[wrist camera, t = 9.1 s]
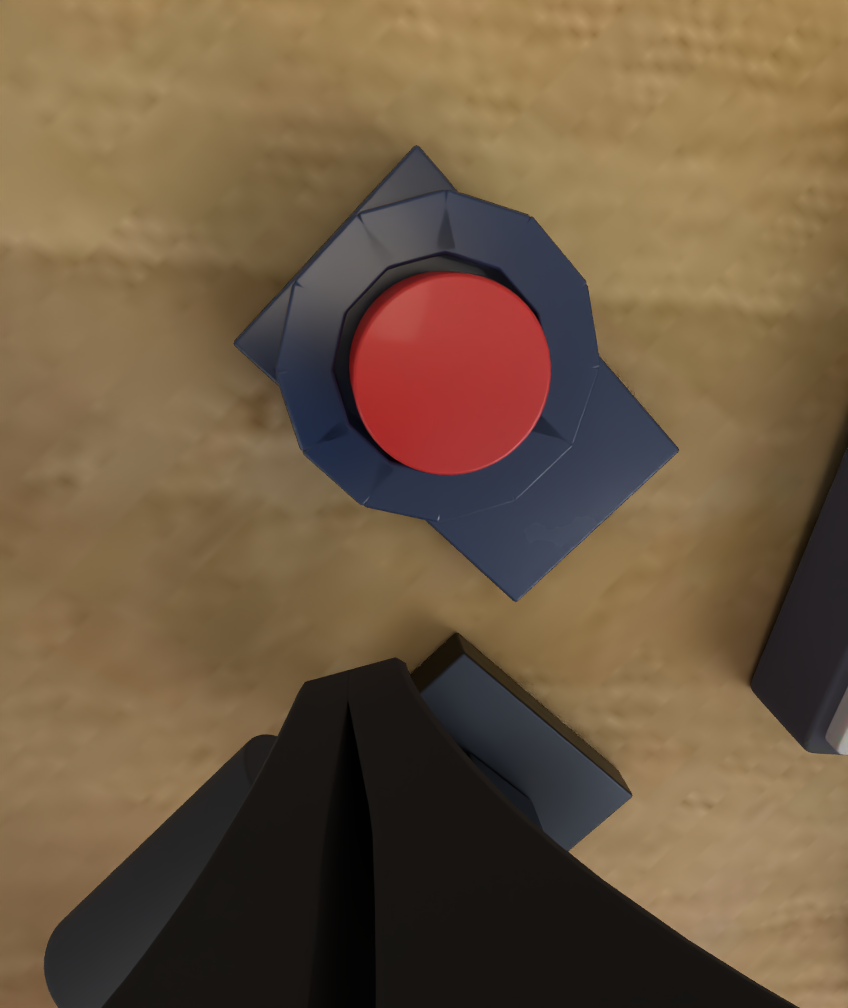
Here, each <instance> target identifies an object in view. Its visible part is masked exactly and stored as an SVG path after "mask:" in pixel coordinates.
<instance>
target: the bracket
mask: <svg viewBox="0 0 848 1008" xmlns="http://www.w3.org/2000/svg"><path fill="white" fill-rule="evenodd" d="M410 676H411V679H412V681H413V682H414V684H415V686H416V688H417V690H418V691H419V693H420V695H421V696H422V698H423V699H424V701H425V702H426V704H427V705H428V707H429V708H430V710H431V711H432V712H433V714H434V715H435V716H436V718H437V719H438V720H439V722H440V723H441V724H442V726H443V727H444V728H445V729H446V731H447V732H448V733H449V734H450V735H451V737H452V738H453V739H454V740H455V742H456V743H457V744H458V745H459V746H460V748H461V749H462V750H463V751H464V753H465V754H466V755H467V756H468V757H469V758H470V759H471V760H472V761H473V763H474V764H475V765H476V766H477V767H478V768H479V769H480V770H481V771H482V772H483V773H484V774H485V775H486V776H487V778H488V779H489V780H490V781H491V782H492V783H493V784H494V785H495V786H496V787H497V788H498V789H499V790H500V791H501V792H502V793H503V794H504V795H505V796H506V797H507V798H508V799H509V800H510V801H511V802H512V803H513V804H514V805H515V806H516V807H517V808H518V809H520V810H521V811H522V812H523V813H524V814H525V815H526V816H527V817H528V818H529V819H530V820H531V821H533V822H534V823H535V824H536V825H537V826H538V827H539V828H541V829H542V830H543V831H544V832H545V833H546V834H547V835H549V836H550V837H551V838H552V839H553V840H554V841H556V842H557V843H558V844H559V845H560V846H561V847H563V848H564V849H565V850H566V851H569V850H570V849H571V848H572V847H574V846H575V845H576V844H577V843H578V842H579V841H581V840H582V839H583V838H584V837H585V836H587V835H588V834H589V833H590V832H591V831H592V830H594V829H595V828H596V827H597V826H598V825H599V824H601V823H602V822H603V821H604V820H605V819H607V818H608V817H609V816H610V815H611V814H612V813H614V812H615V811H616V810H617V809H618V808H620V807H621V806H622V805H623V804H624V803H625V802H627V801H628V800H629V799H630V798H631V797H632V793H631V791H630V790H629V788H628V786H627V784H626V783H625V781H624V779H623V778H622V776H621V774H620V772H619V771H618V770H617V769H616V768H615V767H613V766H612V765H611V764H610V763H609V762H608V761H606V760H605V759H604V758H603V757H602V756H601V755H599V754H598V753H597V752H596V751H595V750H594V749H592V748H591V747H590V746H589V745H588V744H587V743H585V742H584V741H583V740H582V739H581V738H580V737H578V736H577V735H576V734H575V733H574V732H573V731H571V730H570V729H569V728H568V727H567V726H566V725H564V724H563V723H562V722H561V721H560V720H559V719H557V718H556V717H555V716H554V715H553V714H552V713H550V712H549V711H548V710H547V709H546V708H545V707H543V706H542V705H541V704H540V703H539V702H538V701H536V700H535V699H534V698H533V697H532V696H531V695H529V694H528V693H527V692H526V691H525V690H524V689H522V688H521V687H520V686H519V685H518V684H517V683H515V682H514V681H513V680H512V679H511V678H510V677H508V676H507V675H506V674H505V673H504V672H503V671H501V670H500V669H499V668H498V667H497V666H496V665H494V664H493V663H492V662H491V661H490V660H489V659H487V658H486V657H485V656H484V655H483V654H482V653H480V652H479V651H478V650H477V649H476V648H475V647H473V646H472V645H471V644H470V643H469V642H468V641H466V640H465V639H464V638H463V637H462V636H461V635H459V634H458V633H455V634H454V635H453V636H452V637H451V638H450V639H449V640H448V641H447V642H445V643H444V644H443V645H442V646H441V647H440V648H439V649H438V650H437V651H436V652H435V653H434V654H433V655H432V656H431V657H429V658H428V659H427V660H426V661H425V662H424V663H423V664H422V665H421V666H420V667H419V668H418V669H417V670H416V671H415V672H413V673H412V674H411V675H410Z"/></svg>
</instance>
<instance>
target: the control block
mask: <svg viewBox="0 0 848 1008" xmlns="http://www.w3.org/2000/svg"><path fill="white" fill-rule="evenodd" d="M430 271H452V272H461V273H470V274H474V275H479V276H483V277H486V278H488V279H491V280H494V281H496V282H498V283H500V284H501V285H503V286H505V287H507V288H508V289H510V290H511V291H512V292H514V293H515V294H516V295H518V296H519V297H520V298H521V299H522V300H523V301H524V302H525V303H526V304H527V306H528V307H529V308H530V310H531V311H532V312H533V313H534V315H535V316H536V318H537V320H538V322H539V324H540V325H541V327H542V330H543V332H544V335H545V337H546V340H547V344H548V348H549V353H550V361H551V379H550V387H549V392H548V396H547V400H546V403H545V406H544V408H543V411H542V414H541V416H540V418H539V419H538V421H537V423H536V425H535V427H534V428H533V429H532V431H531V432H530V434H529V435H528V436H527V437H526V439H525V440H524V441H523V442H522V443H521V444H520V445H519V446H518V447H517V448H516V449H515V450H513V451H512V452H511V453H510V454H509V455H507V456H506V457H504V458H503V459H501V460H500V461H498V462H496V463H494V464H492V465H490V466H488V467H486V468H483V469H480V470H477V471H474V472H470V473H465V474H457V475H438V474H432V473H426V472H423V471H419V470H416V469H413V468H411V467H409V466H406V465H404V464H402V463H401V462H399V461H398V460H396V459H394V458H393V457H391V456H390V455H389V454H388V453H387V452H385V451H384V450H383V449H382V448H381V447H380V446H379V445H378V444H377V443H376V442H375V441H374V439H373V438H372V436H371V435H370V434H369V432H368V431H367V429H366V427H365V425H364V424H363V422H362V420H361V418H360V415H359V412H358V409H357V407H356V403H355V399H354V395H353V391H352V387H351V382H350V374H349V355H350V349H351V343H352V340H353V337H354V334H355V331H356V329H357V326H358V324H359V322H360V320H361V318H362V317H363V315H364V314H365V312H366V310H367V309H368V308H369V307H370V305H371V304H372V303H373V302H374V301H375V299H377V298H378V297H379V296H380V295H381V294H382V293H383V292H384V291H385V290H387V289H388V288H390V287H391V286H393V285H394V284H396V283H398V282H400V281H401V280H403V279H405V278H408V277H411V276H414V275H416V274H420V273H425V272H430ZM234 345H235V347H236V348H238V349H239V350H240V351H241V352H242V353H243V354H244V355H245V356H246V357H247V358H248V359H250V360H251V361H252V362H253V363H254V364H255V365H256V366H257V367H258V368H259V369H260V370H262V371H263V372H264V373H265V374H266V375H267V376H268V377H269V378H270V379H271V380H273V381H274V382H275V383H276V384H277V385H278V386H279V387H280V390H281V393H282V396H283V399H284V402H285V405H286V408H287V411H288V414H289V417H290V420H291V423H292V426H293V429H294V432H295V435H296V438H297V441H298V444H299V447H300V449H301V450H302V451H303V454H304V455H305V456H306V457H307V458H308V459H309V460H310V461H311V462H312V463H314V464H315V465H316V466H317V467H318V468H319V469H320V470H322V471H323V472H324V473H325V474H326V475H327V476H328V477H329V478H331V479H332V480H333V481H334V482H335V483H336V484H337V485H338V486H340V487H341V488H342V489H343V490H344V491H345V492H346V493H347V494H349V495H350V496H351V497H352V498H353V499H354V500H355V501H356V502H358V503H359V504H360V505H364V506H365V507H367V508H372V509H377V510H381V511H386V512H391V513H395V514H400V515H405V516H410V517H414V518H419V519H424V520H426V521H427V522H428V523H429V524H430V525H431V526H432V527H433V528H434V529H435V530H436V531H438V532H439V533H440V534H441V535H442V536H443V537H444V538H445V539H446V540H447V541H449V542H450V543H451V544H452V545H453V546H454V547H455V548H456V549H457V550H458V551H459V552H461V553H462V554H463V555H464V556H465V557H466V558H467V559H468V560H469V561H470V562H471V563H473V564H474V565H475V566H476V567H477V568H478V569H479V570H480V571H481V572H482V573H483V574H485V575H486V576H487V577H488V578H489V579H490V580H491V581H492V582H493V583H494V584H496V585H497V586H498V587H499V588H500V589H501V590H502V591H503V592H504V593H505V594H506V595H508V596H509V597H510V598H511V599H512V600H513V601H515V602H517V601H518V600H519V599H520V598H521V597H522V596H524V595H525V594H526V593H527V592H528V591H529V590H530V589H531V588H532V587H533V586H534V585H535V584H536V583H538V582H539V581H540V580H541V579H542V578H543V577H544V576H545V575H546V574H547V573H548V572H549V571H550V570H552V569H553V568H554V567H555V566H556V565H557V564H558V563H559V562H560V561H561V560H562V559H563V558H564V557H566V556H567V555H568V554H569V553H570V552H571V551H572V550H573V549H574V548H575V547H576V546H577V545H578V544H580V543H581V542H582V541H583V540H584V539H585V538H586V537H587V536H588V535H589V534H590V533H591V532H592V531H594V530H595V529H596V528H597V527H598V526H599V525H600V524H601V523H602V522H603V521H604V520H605V519H606V518H608V517H609V516H610V515H611V514H612V513H613V512H614V511H615V510H616V509H617V508H618V507H619V506H620V505H622V504H623V503H624V502H625V501H626V500H627V499H628V498H629V497H630V496H631V495H632V494H633V493H634V492H636V491H637V490H638V489H639V488H640V487H641V486H642V485H643V484H644V483H645V482H646V481H647V480H648V479H650V478H651V477H652V476H653V475H654V474H655V473H656V472H657V471H658V470H659V469H660V468H661V467H662V466H664V465H665V464H666V463H667V462H668V461H669V460H670V459H671V458H672V457H673V456H674V455H675V454H676V453H678V451H679V449H678V447H677V446H676V445H675V444H674V442H673V441H672V440H671V439H670V438H669V437H668V435H667V434H666V433H665V432H664V431H663V430H662V428H661V427H660V426H659V425H658V424H657V423H656V421H655V420H654V419H653V418H652V417H651V416H650V415H649V413H648V412H647V411H646V410H645V409H644V408H643V406H642V405H641V404H640V403H639V402H638V401H637V399H636V398H635V397H634V396H633V395H632V394H631V392H630V391H629V390H628V389H627V388H626V387H625V385H624V384H623V383H622V382H621V381H620V380H619V378H618V377H617V376H616V375H615V374H614V373H613V371H612V370H611V369H610V368H609V367H608V366H607V364H606V363H605V362H604V361H603V360H602V359H601V357H600V356H599V353H598V347H597V341H596V334H595V328H594V322H593V316H592V310H591V303H590V297H589V291H588V286H587V284H586V280H585V279H584V278H583V277H582V276H581V274H580V273H579V272H578V271H577V270H576V268H575V267H574V266H573V265H572V264H571V262H570V261H569V260H568V259H567V257H566V256H565V255H564V254H563V253H562V251H561V250H560V249H559V248H558V247H557V245H556V244H555V243H554V242H553V241H552V239H551V238H550V237H549V236H548V234H547V233H546V232H545V231H544V230H543V228H542V227H541V226H540V225H539V224H538V222H537V221H536V220H535V219H534V218H533V217H530V216H529V215H528V214H525V213H522V212H519V211H516V210H513V209H510V208H507V207H504V206H500V205H497V204H494V203H491V202H488V201H485V200H482V199H479V198H476V197H473V196H470V195H466V194H463V193H460V192H458V191H457V190H456V189H455V187H454V186H453V185H452V184H451V183H450V182H449V180H448V179H447V178H446V177H445V176H444V175H443V173H442V172H441V171H440V170H439V169H438V168H437V166H436V165H435V164H434V163H433V162H432V161H431V159H430V158H429V157H428V156H427V155H426V154H425V153H424V151H423V150H422V149H421V148H420V147H419V146H417V145H416V146H414V147H413V148H412V149H411V150H410V151H409V152H408V153H407V155H406V156H405V157H404V158H403V159H402V160H401V161H400V162H399V163H398V164H397V165H396V166H395V168H394V169H393V170H392V171H391V172H390V173H389V174H388V175H387V176H386V177H385V178H384V179H383V180H382V182H381V183H380V184H379V185H378V186H377V187H376V188H375V189H374V190H373V191H372V192H371V193H370V195H369V196H368V197H367V198H366V199H365V200H364V201H363V202H362V203H361V204H360V205H359V206H358V208H357V209H356V210H355V211H354V212H353V213H352V214H351V215H350V216H349V217H348V218H347V219H346V221H345V222H344V223H343V224H342V225H341V226H340V227H339V228H338V229H337V230H336V231H335V232H334V234H333V235H332V236H331V237H330V238H329V239H328V240H327V241H326V242H325V243H324V244H323V245H322V247H321V248H320V249H319V250H318V251H317V252H316V253H315V254H314V255H313V256H312V257H311V258H310V260H309V261H308V262H307V263H306V264H305V265H304V266H303V267H302V268H301V269H300V270H299V271H298V273H297V274H296V275H295V276H294V277H293V278H292V279H291V280H290V281H289V282H288V283H287V284H286V286H285V287H284V288H283V289H282V290H281V291H280V292H279V293H278V294H277V295H276V296H275V297H274V299H273V300H272V301H271V302H270V303H269V304H268V305H267V306H266V307H265V308H264V309H263V310H262V311H261V313H260V314H259V315H258V316H257V317H256V318H255V319H254V320H253V321H252V322H251V323H250V324H249V326H248V327H247V328H246V329H245V330H244V331H243V332H242V333H241V334H240V335H239V336H238V337H237V339H236V340H235V341H234Z"/></svg>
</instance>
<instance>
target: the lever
mask: <svg viewBox="0 0 848 1008" xmlns="http://www.w3.org/2000/svg"><path fill="white" fill-rule="evenodd" d="M276 738H277V736H274V735H267V734H266V735H259V736H256V737H254V738H252V739H251V740H250V741H248V742H247V743H246V744H245V745H244V746H243V747H242V748H241V749H240V750H239V751H238V752H237V753H236V754H235V755H234V756H233V757H232V758H231V759H230V760H229V761H228V762H227V763H225V764H224V765H223V766H222V767H221V768H220V769H219V770H218V771H217V772H216V773H215V774H214V775H213V776H212V777H211V778H210V779H209V780H208V781H207V782H206V783H205V784H204V785H203V786H202V787H200V788H199V789H198V790H197V791H196V792H195V793H194V794H193V795H192V796H191V797H190V798H189V799H188V800H187V801H186V802H185V803H184V804H183V805H182V806H181V807H180V808H179V809H178V810H177V811H176V812H174V813H173V814H172V815H171V816H170V817H169V818H168V819H167V820H166V821H165V822H164V823H163V824H162V825H161V826H160V827H159V828H158V829H157V830H156V831H155V832H154V833H153V834H152V835H151V836H150V837H148V838H147V839H146V840H145V841H144V842H143V843H142V844H141V845H140V846H139V847H138V848H137V849H136V850H135V851H134V852H133V853H132V854H131V855H130V856H129V857H128V858H127V859H126V860H125V861H123V862H122V863H121V864H120V865H119V866H118V867H117V868H116V869H115V870H114V871H113V872H112V873H111V874H110V875H109V876H108V877H107V878H106V879H105V880H104V881H103V882H102V883H101V884H100V885H99V886H97V887H96V888H95V889H94V890H93V891H92V892H91V893H90V894H89V895H88V896H87V897H86V898H85V899H84V900H83V901H82V902H81V903H80V904H79V905H78V906H77V907H76V908H75V909H74V910H72V911H71V912H70V913H69V914H68V915H67V916H66V917H65V918H64V919H63V920H62V921H61V922H60V923H59V924H58V925H57V927H56V928H55V929H54V931H53V933H52V934H51V937H50V939H49V941H48V944H47V947H46V951H45V957H44V973H45V979H46V983H47V986H48V990H49V992H50V994H51V996H52V998H53V1000H54V1002H55V1003H56V1005H57V1006H58V1007H59V1008H101V1007H102V1006H103V1005H104V1004H105V1003H106V1001H107V1000H108V999H109V998H110V996H111V995H112V994H113V993H114V992H115V990H116V989H117V988H118V987H119V986H120V984H121V983H122V982H123V981H124V979H125V978H126V977H127V976H128V975H129V973H130V972H131V971H132V969H133V968H134V967H135V965H136V964H137V963H138V961H139V960H140V959H141V958H142V956H143V955H144V954H145V952H146V951H147V949H148V948H149V947H150V945H151V944H152V943H153V941H154V940H155V938H156V937H157V936H158V934H159V933H160V932H161V930H162V929H163V927H164V926H165V925H166V923H167V922H168V921H169V919H170V918H171V916H172V915H173V913H174V912H175V910H176V909H177V907H178V906H179V905H180V903H181V902H182V900H183V899H184V897H185V896H186V894H187V893H188V891H189V890H190V888H191V887H192V885H193V884H194V882H195V880H196V879H197V877H198V876H199V874H200V873H201V871H202V870H203V868H204V866H205V865H206V863H207V861H208V860H209V858H210V856H211V855H212V853H213V852H214V850H215V848H216V847H217V845H218V843H219V842H220V840H221V838H222V837H223V835H224V833H225V832H226V830H227V828H228V827H229V825H230V824H231V822H232V820H233V819H234V817H235V815H236V814H237V812H238V810H239V808H240V807H241V805H242V803H243V801H244V799H245V797H246V796H247V794H248V792H249V790H250V788H251V786H252V784H253V783H254V781H255V779H256V777H257V775H258V773H259V771H260V769H261V768H262V766H263V764H264V762H265V760H266V758H267V756H268V754H269V752H270V750H271V748H272V746H273V744H274V742H275V740H276Z"/></svg>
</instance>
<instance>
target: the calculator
mask: <svg viewBox="0 0 848 1008" xmlns="http://www.w3.org/2000/svg"><path fill="white" fill-rule="evenodd" d="M751 689H752V691H753V692H754V694H755V695H756V696H757V697H758V698H759V699H760V700H761V702H762V703H763V704H764V705H765V706H766V707H767V708H768V709H769V711H770V712H771V713H772V714H773V715H774V716H775V717H776V718H777V719H778V721H779V722H780V723H781V724H782V725H783V726H784V727H785V728H786V730H787V731H788V732H789V733H790V734H791V735H792V736H793V737H794V738H795V739H796V741H797V742H798V743H799V744H800V745H801V746H802V747H803V748H804V749H805V750H806V751H808V752H811V753H820V754H837V755H848V447H847V449H846V452H845V454H844V457H843V459H842V462H841V464H840V466H839V469H838V471H837V474H836V476H835V479H834V481H833V483H832V486H831V488H830V491H829V493H828V496H827V498H826V501H825V503H824V505H823V508H822V510H821V513H820V515H819V518H818V520H817V523H816V525H815V527H814V530H813V532H812V535H811V537H810V540H809V542H808V545H807V547H806V549H805V552H804V554H803V557H802V559H801V562H800V564H799V566H798V569H797V571H796V574H795V576H794V579H793V581H792V584H791V586H790V588H789V591H788V593H787V596H786V598H785V601H784V603H783V606H782V608H781V610H780V613H779V615H778V618H777V620H776V623H775V625H774V628H773V630H772V632H771V635H770V637H769V640H768V642H767V645H766V647H765V650H764V652H763V654H762V657H761V659H760V662H759V664H758V667H757V669H756V671H755V674H754V676H753V679H752V682H751Z"/></svg>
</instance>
